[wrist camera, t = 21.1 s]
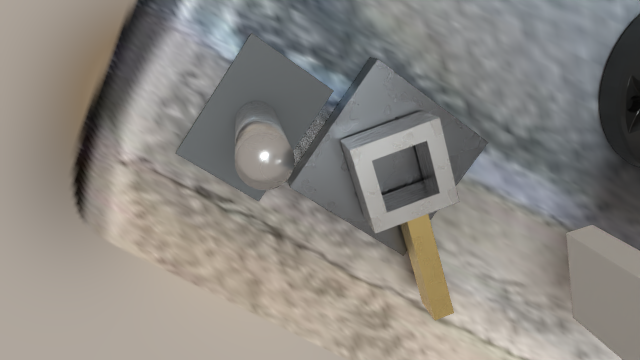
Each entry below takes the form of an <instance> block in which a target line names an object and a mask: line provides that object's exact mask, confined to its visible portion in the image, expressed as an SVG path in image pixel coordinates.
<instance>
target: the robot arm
mask: <svg viewBox="0 0 640 360" xmlns="http://www.w3.org/2000/svg"><path fill="white" fill-rule="evenodd" d="M600 115H601V121H602V126H603V129H604V132H605V135H606V137H607V139H608V141H609V143H610V144H611V146H612V147H613V149H614V150H615V151H616V152H617V153H618V154H619V155H620V156H621V157H622V158H623V159H624V160H626V161H627V162H629V163H631V164H633V165H635V166H637V167H640V15H639V16H638V17H637V18H636V19H635V20H634V21H633V22H632V24H631V25H630V26H629V27H628V28H627V30H626V31H625V32H624V34H623V35H622V37H621V38H620V40H619V41H618V43H617V45H616V46H615V48H614V50H613V52H612V54H611V56H610V59H609V61H608V63H607V66H606V69H605V72H604V76H603V80H602V85H601V91H600ZM566 238H567V250H568V262H569V274H570V287H571V299H572V311H573V318H574V319H576V320H577V321H578V322H579V323H580V324H582V325H583V326H584V327H585V328H586V329H587V330H589V331H590V332H591V333H592V334H593V335H594V336H596V337H597V338H598V339H599V340H600V341H601V342H603V343H604V344H605V345H606V346H607V347H608V348H610V349H611V350H612V351H613V352H614V353H615V354H617V355H618V356H619V357H620V358H621V359H622V360H640V251H639V250H637V249H636V248H634V247H632V246H630V245H628V244H627V243H625V242H623V241H621V240H619V239H617V238H616V237H614V236H612V235H610V234H608V233H606V232H605V231H603V230H601V229H599V228H597V227H596V226H594V225H590V226H586V227H583V228H580V229H577V230H574V231H571V232H567V233H566Z"/></svg>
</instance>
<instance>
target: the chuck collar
mask: <svg viewBox="0 0 640 360" xmlns="http://www.w3.org/2000/svg"><path fill="white" fill-rule="evenodd" d="M340 142H341V145H342V148H343V151H344V154H345V158H346V161H347V164H348V167H349V170H350V173H351V177H352V180H353V183H354V186H355V189H356V193H357V196H358V199H359V202H360V205H361V208H362V212H363V215H364V218H365V219H366V221H367V222H368V224H369V225H370V226H371V228H372V229H373V231H374V232H375V234H376V233H378V232H381V231H384V230H386V229H389V228H392V227H394V226H397V225H399V224H400V226H401V229H402V233H403V236H404V240H405V243H406V247H407V250H408V254H409V257H410V261H411V264H412V268H413V271H414V275H415V278H416V281H417V285H418V288H419V292H420V295H421V299H422V302H423V304H424V306H425V307H426V308H427V310H428V311H429V313H430V314H431V316H432V317H433V319H434V320H437V319H440V318H442V317H445V316H447V315H450V314H452V313H454V311H453V307H452V303H451V300H450V296H449V292H448V288H447V284H446V280H445V277H444V273H443V269H442V265H441V261H440V257H439V254H438V250H437V246H436V242H435V238H434V234H433V231H432V227H431V223H430V219H429V215H428V214H429V213H431V212H434V211H437V210H439V209H442V208H445V207H447V206H450V205H453V204H455V203H458V202H459V199H458V194H457V190H456V186H455V181H454V177H453V173H452V169H451V164H450V160H449V156H448V151H447V147H446V143H445V139H444V134H443V130H442V126H441V121H440V118H439V117H437V116H434V115H432V114H430V113H428V112H425V111H420V112H417V113H414V114H411V115H409V116H406V117H403V118H400V119H398V120H395V121H392V122H389V123H387V124H384V125H381V126H378V127H375V128H373V129H370V130H367V131H364V132H362V133H359V134H356V135H353V136H351V137H348V138H345V139H342V140H340ZM413 145H415V148H416V151H417V155H418V159H419V163H420V167H421V171H422V175H423V179H424V180H423V181H420V182H417V183H415V184H412V185H409V186H407V187H404V188H401V189H399V190H396V191H393V192H391V193H388V194H385V195H382V194H381V191H380V187H379V184H378V180H377V177H376V174H375V170H374V167H373V163H372V160H375V159H378V158H380V157H383V156H386V155H389V154H391V153H394V152H397V151H400V150H402V149H405V148H408V147H410V146H413Z"/></svg>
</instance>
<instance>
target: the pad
mask: <svg viewBox="0 0 640 360" xmlns="http://www.w3.org/2000/svg"><path fill="white" fill-rule="evenodd" d="M332 92H333V90H332V89H330V88H329V87H328V86H326V85H325V84H323V83H322V82H320V81H319V80H318V79H316V78H315V77H313V76H312V75H311V74H309V73H308V72H306V71H305V70H303V69H302V68H301V67H299V66H298V65H296V64H295V63H293V62H292V61H291V60H289V59H288V58H286V57H285V56H283V55H282V54H281V53H279V52H278V51H276V50H275V49H273V48H272V47H271V46H269V45H268V44H266V43H265V42H264V41H262V40H261V39H259V38H258V37H256V36H255V35H254V34H252V33H251V34H250V36H249V38H248V39H247V41H246V42H245V44H244V46H243V47H242V49H241V50H240V52H239V53H238V55H237V57H236V58H235V60H234V61H233V63H232V65H231V66H230V68H229V69H228V71H227V72H226V74H225V76H224V77H223V79H222V80H221V82H220V83H219V85H218V87H217V88H216V90H215V91H214V93H213V95H212V96H211V98H210V99H209V101H208V102H207V104H206V106H205V107H204V109H203V110H202V112H201V114H200V115H199V117H198V118H197V120H196V121H195V123H194V125H193V126H192V128H191V129H190V131H189V133H188V134H187V136H186V137H185V139H184V140H183V142H182V144H181V145H180V147H179V148H178V150H177V152H176V154H178V155H179V156H181V157H183V158H185V159H186V160H188V161H190V162H191V163H193V164H195V165H197V166H198V167H200V168H202V169H204V170H205V171H207V172H209V173H210V174H212V175H214V176H216V177H217V178H219V179H221V180H223V181H224V182H226V183H228V184H229V185H231V186H233V187H235V188H236V189H238V190H240V191H242V192H243V193H245V194H247V195H248V196H250V197H252V198H254V199H255V200H257V201H259V200H260V199H261V197H262V196H263V194H264V193H265V191H266V190H260V189H255V188H253V187H250V186H249V185H247V184H246V183H244V182H243V181H242V179H241V178H240V177H239V175H238V173H237V171H236V168H235V119H236V115H237V112H238V111H239V109H240V108H241V107H242V106H243V105H244V104H246V103H248V102H251V101H261V102H264V103H266V104H268V105H269V106H271V107H272V108H273V110H274V111H275V113H276V115H277V118H278V120H279V122H280V124H281V126H282V129H283V131H284V133H285V135H286V137H287V140H288V142H289V144H290V146H291V148H292V151H293V150H294V149H295V147H296V146H297V144H298V143H299V141H300V140H301V138H302V137H303V135H304V134H305V132H306V131H307V129H308V128H309V126H310V125H311V123H312V122H313V121H314V119H315V118H316V116H317V115H318V113H319V112H320V110H321V109H322V107H323V106H324V104H325V103H326V101H327V100H328V98H329V97H330V95H331V94H332Z"/></svg>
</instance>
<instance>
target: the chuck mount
mask: <svg viewBox="0 0 640 360" xmlns="http://www.w3.org/2000/svg"><path fill="white" fill-rule="evenodd" d="M420 111H425V112H428V113H430V114H432V115H434V116H437V117H439V118H440V121H441V126H442V130H443V134H444V139H445V143H446V147H447V151H448V156H449V160H450V164H451V169H452V173H453V177H454V181H455V186H456V185H457V184H458V182H459V181H460V180H461V178H462V177H463V176H464V174H465V173H466V172H467V170H468V169H469V168H470V166H471V165H472V164H473V162H474V161H475V160H476V158H477V157H478V156H479V154H480V153H481V152H482V150H483V149H484V148H485V146H486V145H487V144H488V142H487V141H486V140H484V139H483V138H482V137H480V136H479V135H478V134H476V133H475V132H474V131H472V130H471V129H470V128H469V127H467V126H466V125H465V124H463V123H462V122H461V121H459V120H458V119H457V118H455V117H454V116H453V115H451V114H450V113H449V112H447V111H446V110H445V109H443V108H442V107H441V106H439V105H438V104H437V103H435V102H434V101H433V100H431V99H430V98H429V97H427V96H426V95H425V94H423V93H422V92H421V91H419V90H418V89H417V88H416V87H414V86H413V85H412V84H410V83H409V82H408V81H406V80H405V79H404V78H402V77H401V76H400V75H398V74H397V73H396V72H394V71H393V70H392V69H390V68H389V67H388V66H386V65H385V64H384V63H382V62H381V61H380V60H378V59H375V58H371V57H370V58H369V60H368V61H367V63H366V64H365V65H364V67H363V68H362V70H361V71H360V73H359V74H358V76H357V77H356V79H355V80H354V82H353V83H352V84H351V86H350V87H349V89H348V90H347V92H346V93H345V95H344V96H343V98H342V99H341V101H340V102H339V104H338V105H337V106H336V108H335V109H334V111H333V112H332V114H331V115H330V117H329V118H328V120H327V121H326V123H325V124H324V125H323V127H322V128H321V130H320V131H319V133H318V134H317V136H316V137H315V139H314V140H313V142H312V143H311V145H310V146H309V147H308V149H307V150H306V152H305V153H304V155H303V156H302V158H301V159H300V161H299V162H298V164H297V165H296V166H295V168H294V169H293V171H292V173H291V175H290V177H289V178H288V179H287V180H288V183H289V186H290V187H291V188H292V189H294V190H296V191H297V192H299V193H301V194H302V195H304V196H306V197H307V198H309V199H311V200H312V201H314V202H316V203H317V204H319V205H321V206H322V207H324V208H325V209H327V210H329V211H330V212H332V213H334V214H335V215H337V216H339V217H340V218H342V219H344V220H345V221H347V222H349V223H350V224H352V225H354V226H355V227H357V228H359V229H360V230H362V231H364V232H365V233H367V234H369V235H370V236H372V237H374V238H375V239H377V240H379V241H380V242H382V243H383V244H385V245H387V246H388V247H390V248H392V249H393V250H395V251H397V252H398V253H400V254H402V255H403V256H404V254H405V253H406V252H407V247H406V243H405V240H404V236H403V233H402V229H401V226H400V224H399V225H397V226H394V227H392V228H389V229H386V230H384V231H381V232H378V233H376V234H375V232H374V231H373V229H372V228H371V226H370V225H369V224H368V222H367V221H366V219H365V218H364V215H363V212H362V208H361V205H360V202H359V199H358V196H357V193H356V189H355V186H354V183H353V180H352V177H351V173H350V170H349V167H348V164H347V161H346V158H345V154H344V151H343V148H342V145H341V142H340V140H342V139H345V138H348V137H351V136H353V135H356V134H359V133H362V132H364V131H367V130H370V129H373V128H375V127H378V126H381V125H384V124H387V123H389V122H392V121H395V120H398V119H400V118H403V117H406V116H409V115H411V114H414V113H417V112H420ZM372 163H373V167H374V170H375V174H376V177H377V180H378V184H379V187H380V191H381V194H382V195H385V194H388V193H391V192H393V191H396V190H399V189H401V188H404V187H407V186H409V185H412V184H415V183H417V182H420V181H423V180H424V179H423V175H422V171H421V167H420V163H419V159H418V155H417V151H416V148H415V145H413V146H410V147H408V148H405V149H402V150H400V151H397V152H394V153H391V154H389V155H386V156H383V157H380V158H378V159H375V160H372ZM436 212H437V211H434V212H431V213H429V214H428V215H429V219H430V220H431V218H432V217H433V216H434V214H435V213H436Z"/></svg>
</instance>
